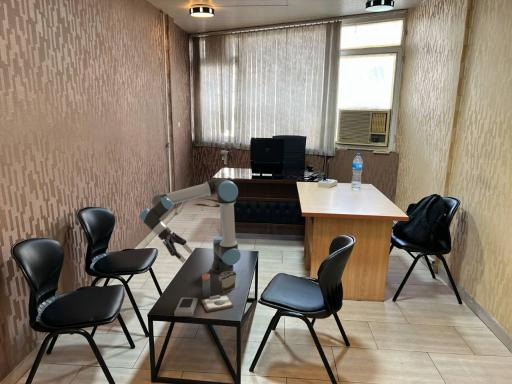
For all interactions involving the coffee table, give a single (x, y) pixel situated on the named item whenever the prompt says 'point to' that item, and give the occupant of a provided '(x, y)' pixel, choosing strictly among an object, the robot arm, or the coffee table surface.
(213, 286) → the coffee table surface
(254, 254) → the coffee table surface
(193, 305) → the grey framed panel
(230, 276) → the food container
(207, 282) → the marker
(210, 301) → the clipboard
